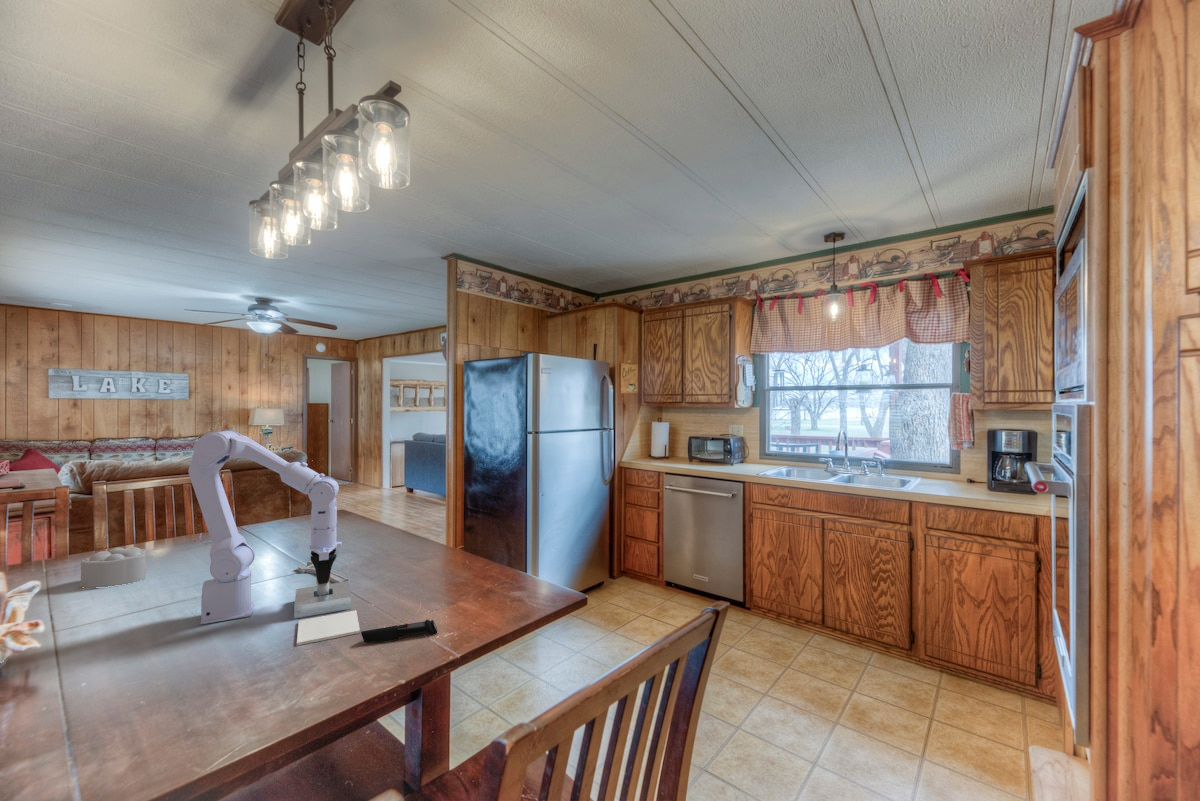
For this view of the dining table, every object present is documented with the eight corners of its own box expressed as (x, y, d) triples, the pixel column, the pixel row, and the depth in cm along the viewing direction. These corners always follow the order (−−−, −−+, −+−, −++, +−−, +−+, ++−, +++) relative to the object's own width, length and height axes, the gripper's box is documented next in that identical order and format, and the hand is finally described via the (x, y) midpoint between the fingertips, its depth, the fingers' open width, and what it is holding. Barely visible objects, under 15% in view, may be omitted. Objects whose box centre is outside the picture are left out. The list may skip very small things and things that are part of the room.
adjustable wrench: (351, 585, 140) (352, 579, 140) (327, 592, 135) (327, 585, 135) (316, 564, 156) (316, 559, 156) (293, 570, 151) (293, 564, 151)
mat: (296, 645, 105) (296, 642, 105) (298, 623, 115) (298, 620, 115) (359, 633, 111) (359, 630, 111) (356, 612, 121) (356, 610, 121)
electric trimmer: (361, 641, 108) (361, 627, 108) (436, 628, 114) (436, 614, 114) (360, 649, 105) (360, 634, 105) (437, 636, 110) (437, 622, 110)
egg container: (145, 581, 140) (145, 550, 140) (78, 593, 131) (78, 560, 131) (145, 571, 148) (145, 542, 148) (82, 582, 139) (82, 551, 139)
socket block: (294, 618, 117) (294, 606, 117) (296, 600, 128) (296, 589, 128) (351, 608, 123) (351, 596, 123) (348, 592, 134) (348, 581, 134)
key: (316, 601, 123) (316, 567, 123) (316, 597, 126) (316, 563, 126) (329, 599, 125) (330, 565, 125) (329, 595, 128) (330, 562, 128)
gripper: (343, 531, 121) (342, 587, 121) (340, 519, 134) (340, 569, 134) (309, 535, 118) (308, 592, 118) (310, 521, 130) (309, 573, 130)
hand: (323, 580), depth 126 cm, fingers closed on key, 3 cm apart
